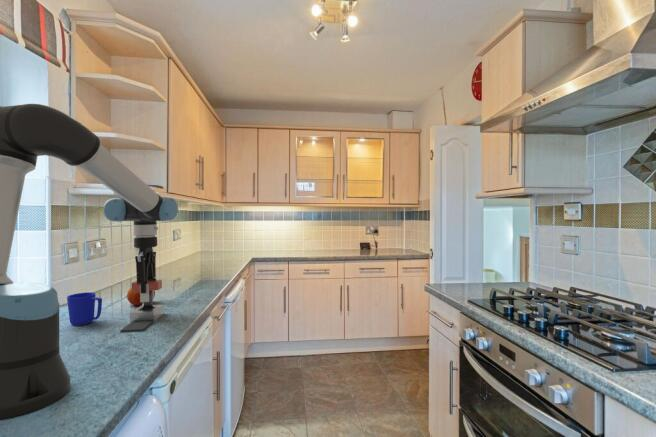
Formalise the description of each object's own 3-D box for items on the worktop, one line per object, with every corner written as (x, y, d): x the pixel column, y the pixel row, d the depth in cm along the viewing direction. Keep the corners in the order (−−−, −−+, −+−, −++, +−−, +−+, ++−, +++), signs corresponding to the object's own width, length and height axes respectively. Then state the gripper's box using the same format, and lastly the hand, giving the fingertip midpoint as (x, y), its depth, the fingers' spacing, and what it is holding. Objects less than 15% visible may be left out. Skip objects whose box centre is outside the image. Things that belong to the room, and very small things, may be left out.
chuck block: (153, 321, 123) (153, 312, 123) (129, 323, 122) (129, 313, 122) (163, 313, 133) (163, 304, 133) (141, 314, 132) (141, 305, 132)
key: (158, 309, 126) (158, 281, 126) (132, 310, 125) (131, 282, 125) (162, 306, 130) (161, 279, 130) (136, 307, 129) (136, 280, 129)
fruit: (126, 303, 149) (126, 285, 148) (153, 300, 154) (153, 282, 154) (128, 309, 140) (127, 289, 139) (156, 305, 145) (156, 286, 145)
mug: (91, 328, 117) (90, 298, 117) (61, 326, 119) (60, 297, 119) (111, 320, 125) (110, 293, 125) (82, 319, 127) (82, 291, 127)
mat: (143, 330, 114) (143, 329, 114) (120, 332, 113) (120, 330, 113) (153, 322, 123) (153, 320, 122) (132, 323, 122) (132, 321, 122)
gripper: (147, 238, 119) (149, 306, 119) (164, 234, 136) (165, 294, 136) (124, 238, 118) (125, 307, 118) (144, 235, 135) (145, 295, 135)
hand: (147, 300), depth 127 cm, fingers closed on key, 4 cm apart
